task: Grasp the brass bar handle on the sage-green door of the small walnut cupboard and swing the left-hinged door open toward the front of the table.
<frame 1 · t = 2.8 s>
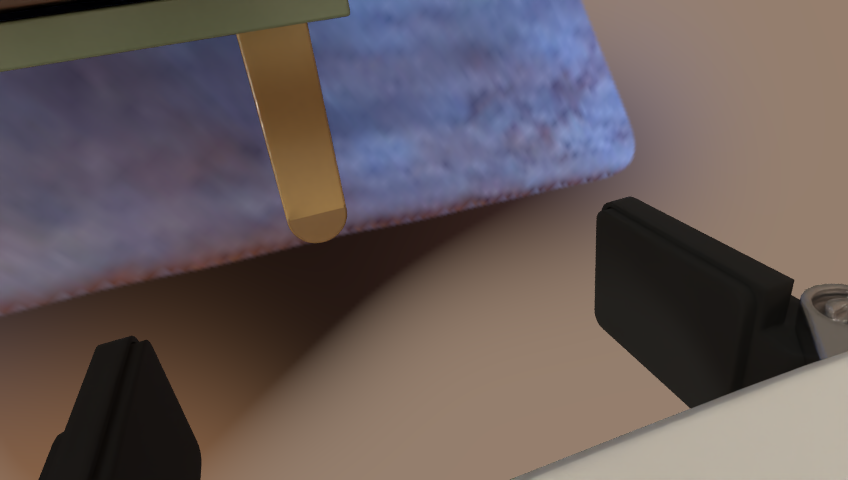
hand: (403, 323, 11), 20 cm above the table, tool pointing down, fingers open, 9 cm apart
door: (146, 123, 20), point 7 cm above the table, hinge at 0.0°
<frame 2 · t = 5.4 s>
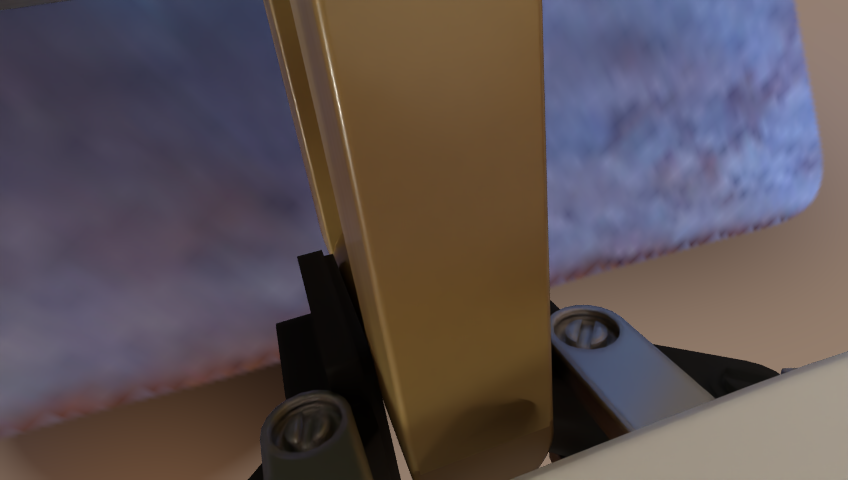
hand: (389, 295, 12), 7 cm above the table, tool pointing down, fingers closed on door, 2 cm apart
door: (71, 195, 9), point 7 cm above the table, hinge at 0.0°, touching gripper
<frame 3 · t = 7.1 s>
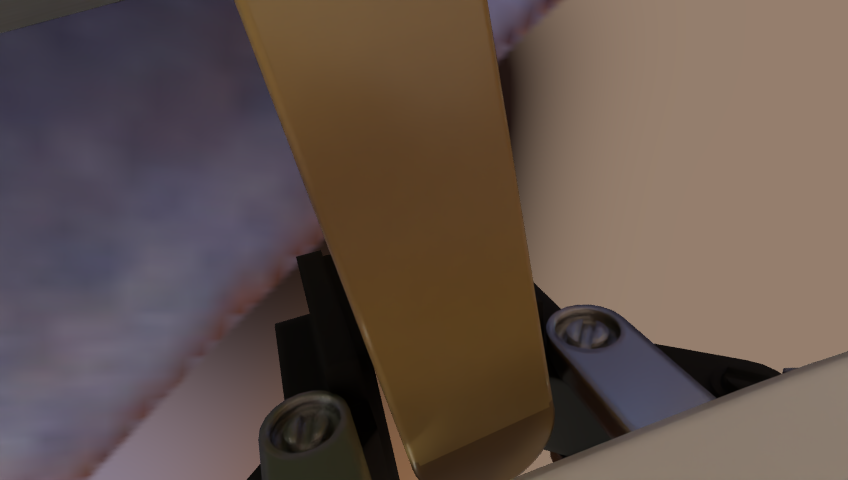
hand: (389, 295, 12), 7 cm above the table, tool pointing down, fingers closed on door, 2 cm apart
door: (61, 215, 9), point 7 cm above the table, hinge at 29.2°, touching gripper
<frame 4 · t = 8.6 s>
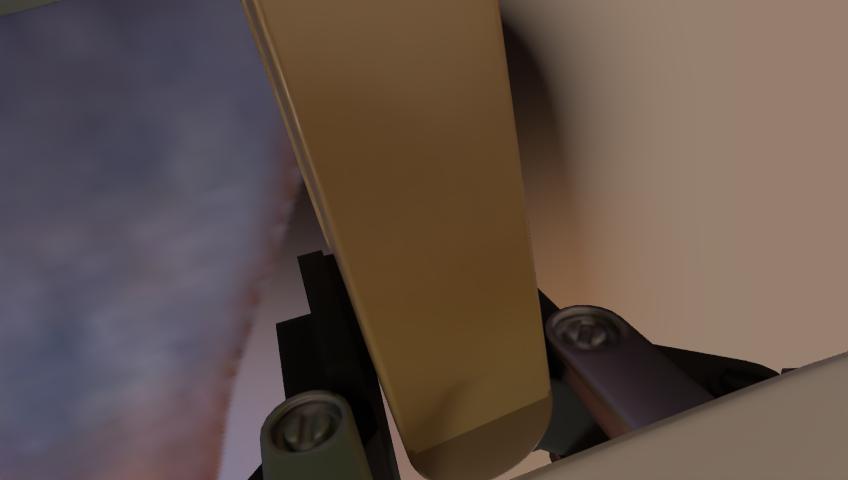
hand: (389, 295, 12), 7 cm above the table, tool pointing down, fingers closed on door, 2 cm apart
door: (54, 197, 9), point 7 cm above the table, hinge at 54.5°, touching gripper
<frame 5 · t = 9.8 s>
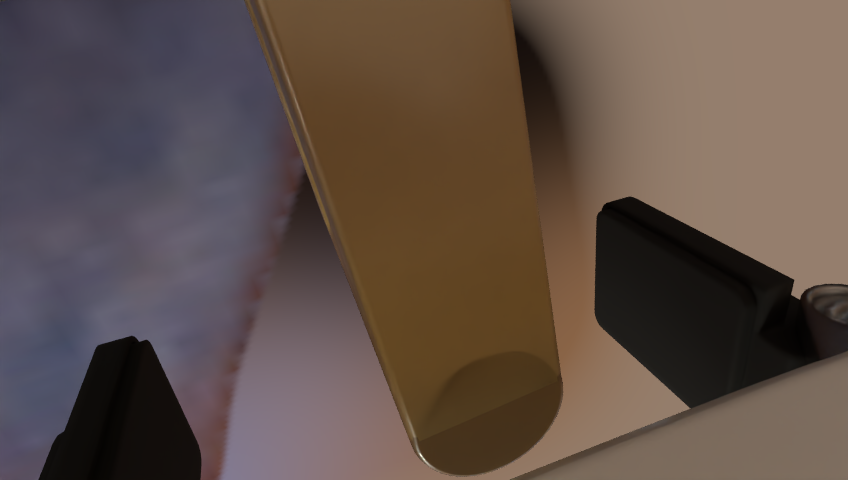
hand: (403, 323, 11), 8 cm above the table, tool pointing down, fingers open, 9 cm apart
door: (47, 182, 9), point 7 cm above the table, hinge at 54.4°
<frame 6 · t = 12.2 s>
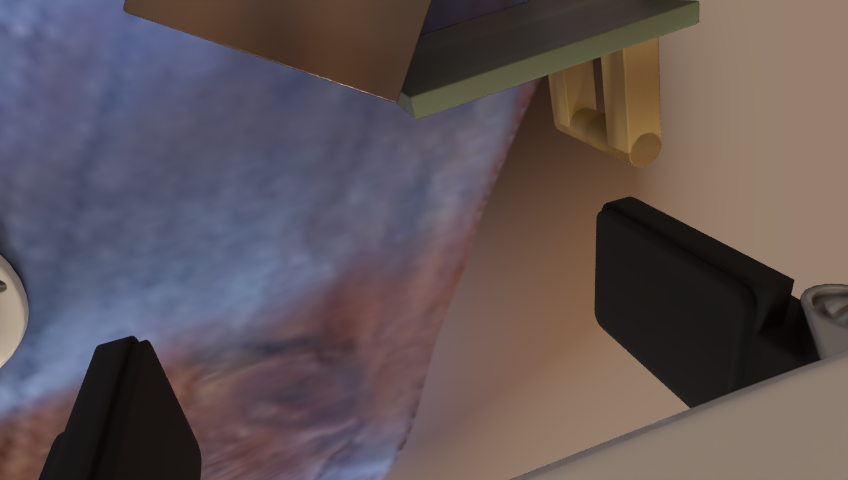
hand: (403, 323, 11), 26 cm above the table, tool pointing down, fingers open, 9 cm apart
door: (508, 104, 31), point 7 cm above the table, hinge at 54.4°
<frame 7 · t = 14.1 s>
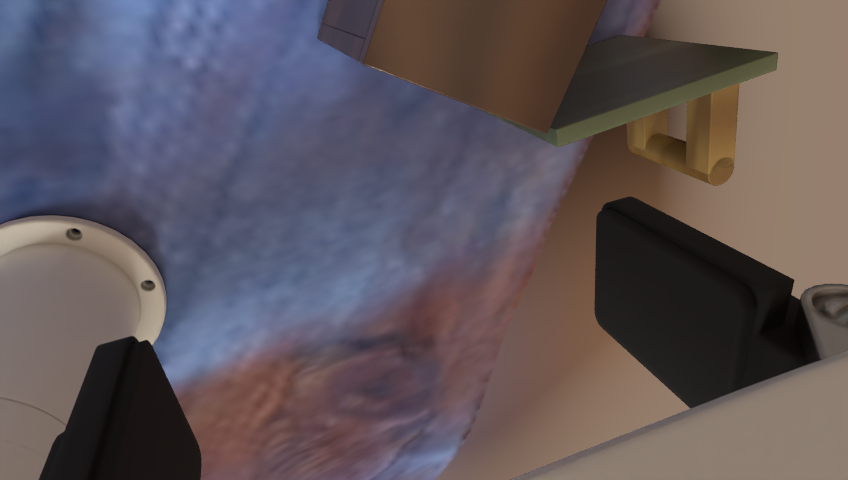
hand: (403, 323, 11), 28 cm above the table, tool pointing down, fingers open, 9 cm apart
door: (599, 131, 36), point 7 cm above the table, hinge at 54.4°
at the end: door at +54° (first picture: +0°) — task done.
